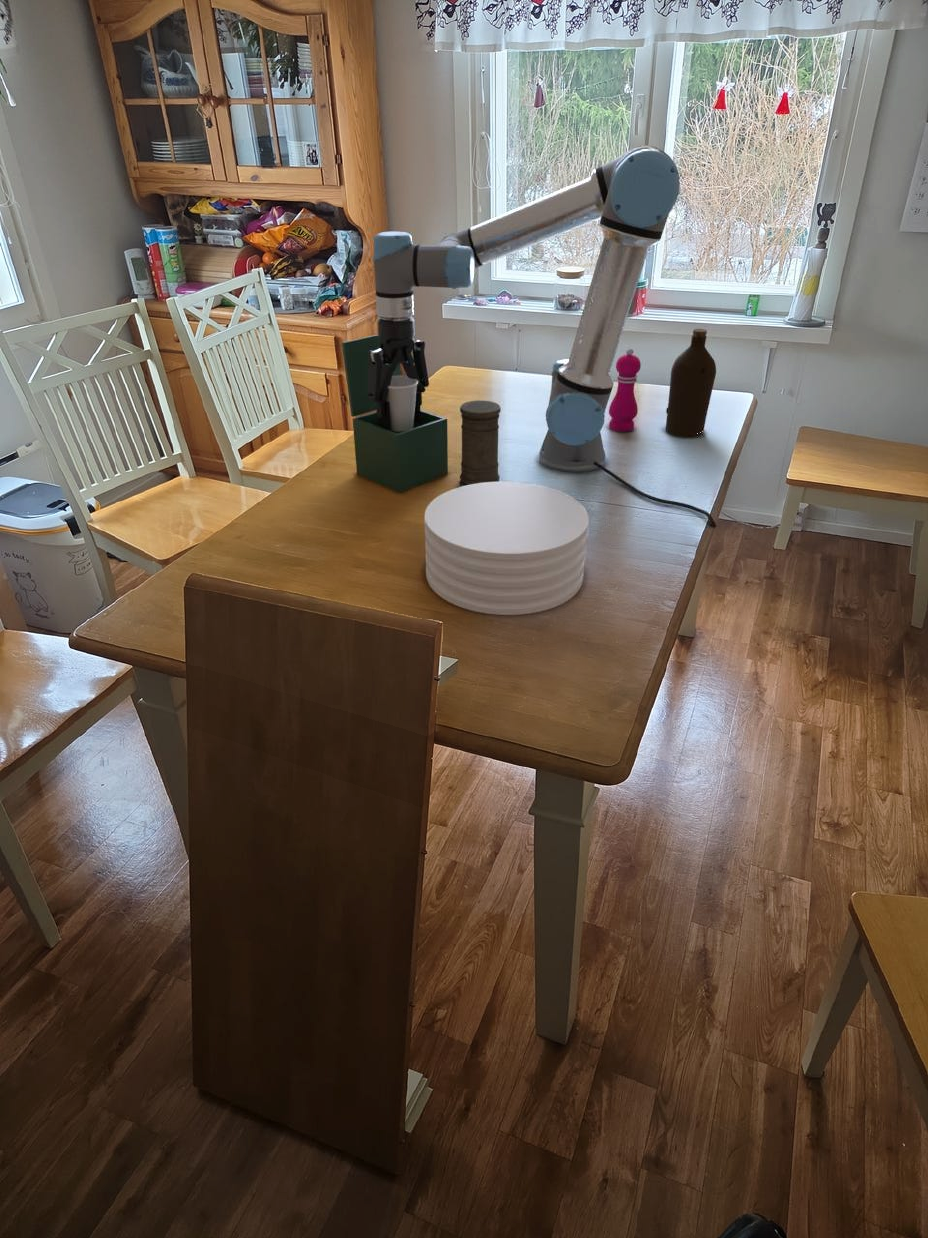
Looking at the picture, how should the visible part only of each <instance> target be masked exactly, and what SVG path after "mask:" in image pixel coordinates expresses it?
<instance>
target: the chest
mask: <svg viewBox="0 0 928 1238" xmlns="http://www.w3.org/2000/svg"><path fill="white" fill-rule="evenodd" d="M420 413H421V422H420V423H417V422H414V424H413V428H412V429H410V430H407V431H392V430H391V431H389V430H386V429H384V428H381V427H380V421H379V417H378V416H377V410H375V411H372V412H369V413H366V414H362V415H359V416H356V417H353V418H352V428H353V429H352V431H353V442H354V443H353V444H354V454H355V457H354V458H355V467H356V475H359V476H362V477H363V478H366V479H368V480H371V481H372V482H375V483H376V484H380V485H382V486H384V487H386V488H388V489H391V490H393V491H395V492H397V493H402V492H405V491H407V490H411V489H412V488H415V487H417V486H420V485H423V484H425V483H428V482H431V481H433V480H435V479H438V478H441V477H443V476H445V475H446V476H447V475H448V474H449V466H448V465H449V461H448V460H449V458H448V456H449V452H448V451H449V450H448V449H449V448H448V447H449V446H448V445H449V443H448V441H449V440H448V439H449V438H448V418H446V417H444V416H441V415H437V414H435V413H432V412H428V411H426V410H423V409H420Z"/></svg>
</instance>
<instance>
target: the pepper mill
mask: <svg viewBox="0 0 928 1238" xmlns="http://www.w3.org/2000/svg"><path fill="white" fill-rule="evenodd" d="M641 365H642V363H641V360H640V358H639V357H638V356H636V355H635V354H634V349H633V348H629V347H628V348H627V349H626V351H625V354H623V355H621V356H620V357H618V359H617V361H616V363H615V369H616V371H617V374H616V381H617V389H616V392H615V395H614V397H613V399H612V400H611V401H610V405H609V407H608V415H609V416H610V419H609V424H608V427H609V429H610V430H611V431H615V432H622V433H623V432H626V433H627V432H630V431H633V430H634V429H635V420H634V419H635V418H637V415H638V411H639V410H638V409H639V408H638V402H637V400H636V396H635V384H636V382H637V381H638V379H637V378H638V373H639V372H640V370H641V367H642V366H641Z"/></svg>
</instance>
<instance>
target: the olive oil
mask: <svg viewBox="0 0 928 1238" xmlns="http://www.w3.org/2000/svg"><path fill="white" fill-rule="evenodd" d="M707 332H708V330H707V329H705V328H694V329H693V330H692V335H691V340H690V345H689V346H688V347H687V348H686V349H685V350H684V351H683V352H681V353H680V354H679V355H678V356H677V357H676V358H675V360H674V362H673V364H672V367H671V372H670V378H669V379H670V381H669V392H668V402H667V407H666V409H665V413H666V420H665V421H666V422H665V432H666V433H667V434H669V435H671V436H674V437H677V438H684V439H685V438H687V439H688V438H689V439H690V438H698V437H700V436H702V435H703V434H704V431H705V426H706V420H707V415H708V411H709V408H710V407H709V406H710V402H711V397H712V393H713V389H714V383H715V380H716V376H717V365H716V361H715V359H714V358H713V356H712V354H711V353H709V351H708V350H707V348H706V342H707ZM702 431H703V432H702ZM700 432H701V433H700ZM697 433H698V434H697Z"/></svg>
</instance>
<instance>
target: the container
mask: <svg viewBox="0 0 928 1238" xmlns="http://www.w3.org/2000/svg"><path fill="white" fill-rule="evenodd" d="M459 410H460V411H459V412H460V416H461V426H460V428H461V462H460V466H461V473H460V475H459V483H458V485H459V487H462V486H466V485H471V484H476V483H484V482H501V481H500V475H499V428H500V425H499V419H500V413H501V410H502V409H501V406H500V404H498V403H497V402H495V401H491V400H483V399H482V400H479V399H478V400H469V401H466V402H463V403H462V404H461V405H460V407H459Z"/></svg>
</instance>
